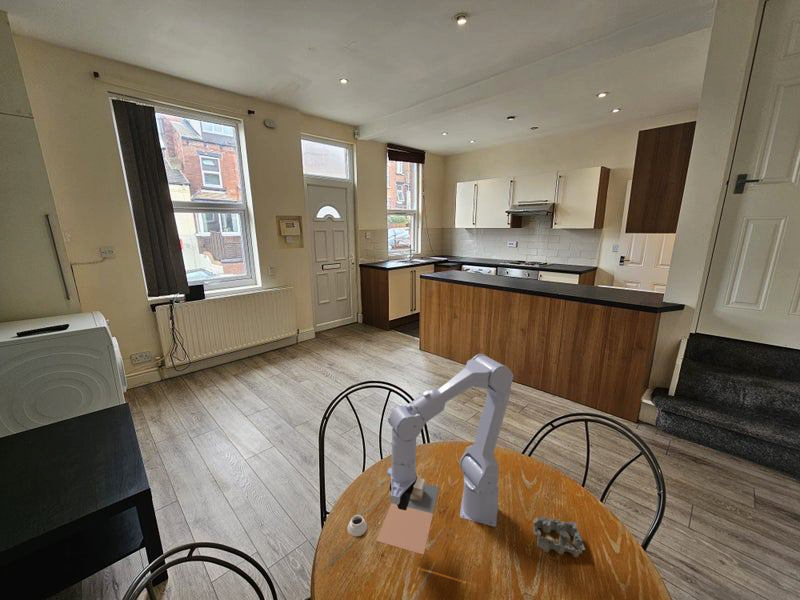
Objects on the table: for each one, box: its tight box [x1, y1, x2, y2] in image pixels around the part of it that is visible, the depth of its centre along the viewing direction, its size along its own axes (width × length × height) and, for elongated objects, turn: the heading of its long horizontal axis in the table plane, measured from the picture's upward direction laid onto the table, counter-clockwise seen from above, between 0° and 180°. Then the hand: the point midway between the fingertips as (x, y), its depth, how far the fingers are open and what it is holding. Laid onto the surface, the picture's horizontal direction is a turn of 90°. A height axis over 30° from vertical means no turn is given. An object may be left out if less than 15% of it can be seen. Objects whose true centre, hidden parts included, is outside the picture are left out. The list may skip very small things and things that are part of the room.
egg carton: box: [533, 516, 586, 558], centre depth 80 cm, size 11×8×4 cm
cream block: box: [410, 477, 426, 501], centre depth 93 cm, size 4×4×4 cm
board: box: [375, 483, 440, 555], centre depth 88 cm, size 12×22×1 cm, turn 163°
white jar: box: [347, 514, 368, 537], centre depth 83 cm, size 5×3×5 cm
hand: (403, 506), depth 79 cm, fingers closed
